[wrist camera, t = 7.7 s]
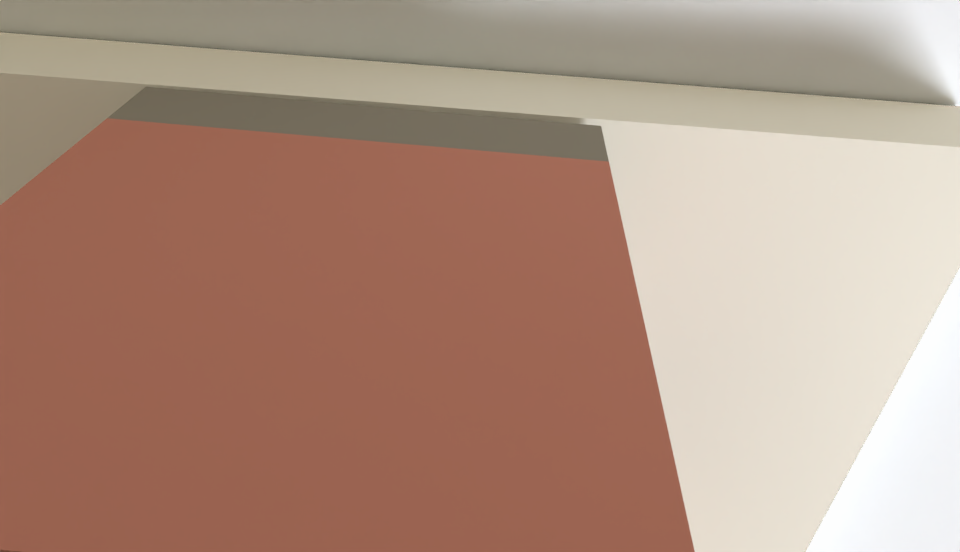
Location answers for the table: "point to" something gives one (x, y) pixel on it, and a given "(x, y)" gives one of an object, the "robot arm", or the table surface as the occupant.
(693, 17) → the table surface
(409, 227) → the block
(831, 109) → the board
